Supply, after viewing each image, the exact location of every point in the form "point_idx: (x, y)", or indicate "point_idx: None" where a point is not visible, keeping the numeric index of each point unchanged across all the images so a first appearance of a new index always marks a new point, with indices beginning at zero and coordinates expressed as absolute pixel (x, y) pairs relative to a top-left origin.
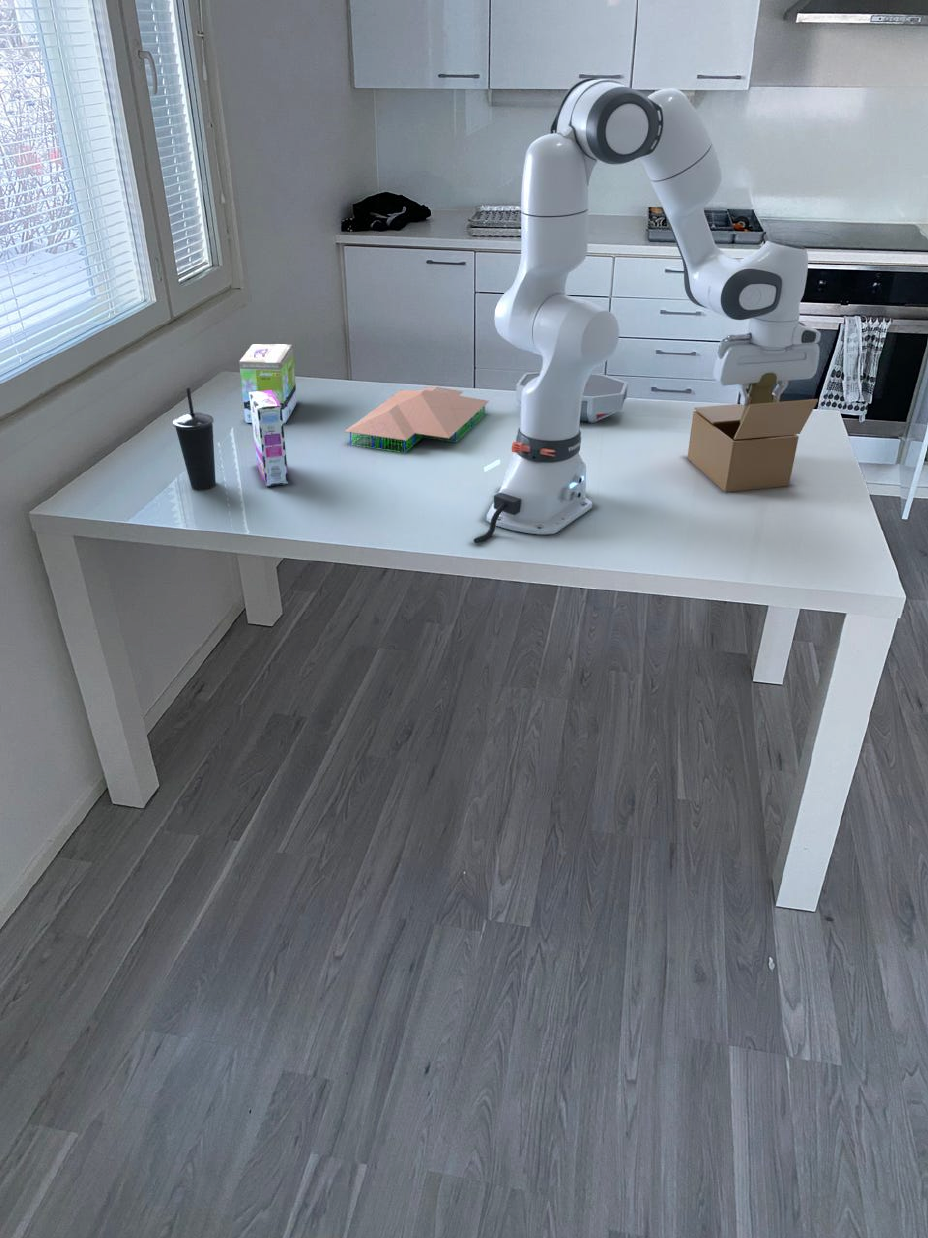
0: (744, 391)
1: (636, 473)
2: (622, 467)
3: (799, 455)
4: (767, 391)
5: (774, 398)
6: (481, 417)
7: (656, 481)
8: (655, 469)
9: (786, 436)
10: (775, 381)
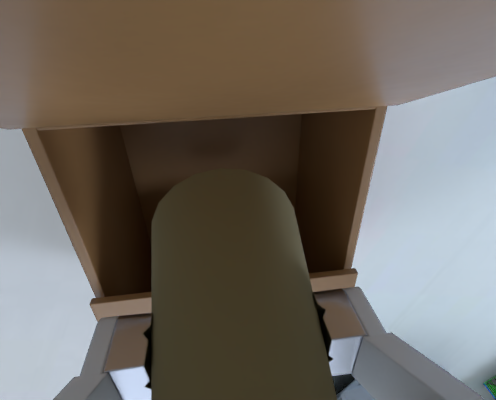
0: (437, 374)
1: (437, 197)
2: (441, 225)
3: (21, 250)
4: (239, 380)
5: (136, 338)
6: (493, 377)
7: (428, 153)
8: (388, 211)
9: (75, 184)
10: None
